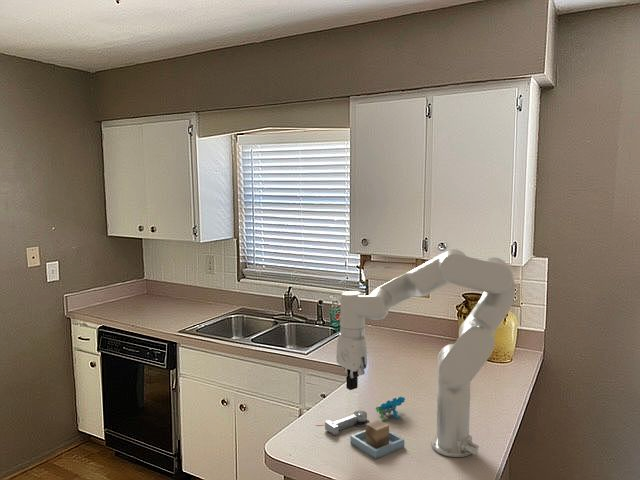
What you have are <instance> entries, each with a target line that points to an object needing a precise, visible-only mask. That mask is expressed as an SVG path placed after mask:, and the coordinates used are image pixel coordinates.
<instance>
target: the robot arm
mask: <svg viewBox="0 0 640 480" xmlns="http://www.w3.org/2000/svg"><path fill="white" fill-rule="evenodd" d="M448 284H452V285H455V286H460V287H463V288H467V289H470V290H475V291H480V292H483V293H482V294H481V296H480V298H479V300H478V301H477V303H476V305H474V307H473V308H472V310H471V311H470V312H469V314H468V316H467V317H466V318H465V319H464V321H463V322H462V323H461V324H460V326H459V329H458V338H457V340H456V341H455V342H454V343H449V344H446V345H445V346H443V347H442V348H441V349H440V351H439V353H438V354H437V355H438V356H437V388H436V389H437V390H436V391H437V392H436V393H437V395H436V396H437V397H436V403H437V404H436V409H437V410H436V435H435V436H433V437H432V439H431V440H430V441H431V442H430V443H431V448H432V449H433V450H434V451H435V452H436V453H438V454H440V455H442V456H445V457H451V458H463V457H464V458H465V457H467V456H470V455H472V456H476V455H477V453H478V450H479V447H480V445H478V444H476V443H474V442H473V436H472V435H470V419H471V418H470V415H471V413H470V411H471V408H470V407H471V382H472V381H473V379H474V378H475V377H476V375H477V374H478V373H479V372H480V371H481V369H482V367H484V365H485V363H486V362H487V361H488V359H489V358H490V356H491V355H492V353H493V351H494V348H495V344H496V343H495V341H496V339H495V333H496V331H497V330H498V328H499V327H500V325H501V324H502V323H503V321H504V320H505V318H506V316H507V315H508V313H509V311H510V310H511V308H512V306H513V304H514V299H515V293H516V292H515V291H516V289H515V286H516V285H515V280H514V275H513V272H512V270H511V269H510V267H509V265H508V263H507V262H506V261H505V260H503V259H501V258H500V257H493V256H492V257H488V258H486V259H485V260H483V259H479V258H474V257H471V256H467V254H465V252H464V251H462V250H459V249H448V250H447V251H444V252H443V253H441V254H439V255H437V256H435V257H433V258H432V259H429V260H427V261H426V262H425V263H422V264H420V265H419V266H417V267H414V268H413V269H411V270H410V271H407V272H405V273H403V274H401V275H400V276H397V277H395V278H393V279H391V280H390V281H388V282H386V283H384V284H382V285H380V286H378V287H377V288H375V289H373V290H372V291H371V292H370V293H369V294H368V295H365V294H364V293H363V292H362V291H357V290H348V291H344V292H342V293H341V295H340V313H339V314H340V315H339V316H340V326H339V327H340V328H339V329H340V332H339V334H338V338H337V343H336V359H335V360H336V363H337V364H338V365H339V366H341V367H342V368H343V369H344V374H345V376H346V377H345V378H346V387H345V388H346V389H347V390H349V391H352V390H355V389H358V386H359V384H358V382H359V379H358V377H359V376H363V375H365V374H366V373H365V371H366V370H365V369H366V368H367V366H368V352H367V341H366V337H365V336H366V332H365V331H366V330H365V326H366V325H365V324H366V322H365V320H366V319H369V320H373V321H378V320H379V321H380V320H383V319H384V318H386V316H387V315H388V314H389V311H390V309H391V308H392V307H394V306H396V305H398V304H400V303H402V302H403V301H406V300H408V299H411V298H415V297H416V298H417V297H426V296H427V295H429V294H432V293H433V292H435V291H436V290H438V289H440V288H442V287H444V286H447V285H448Z"/></svg>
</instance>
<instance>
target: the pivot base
mask: <svg viewBox="0 0 640 480" xmlns="http://www.w3.org/2000/svg"><path fill="white" fill-rule="evenodd" d="M367 423H370V420H369V419H367V422H366V423H365V424H355V425H353V426H355V427H361V428H363V427H366V424H367ZM315 425H316V426H325V423H316V424H315Z"/></svg>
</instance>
